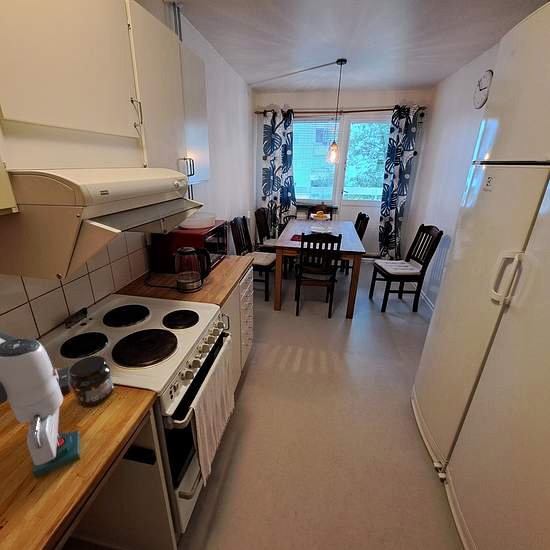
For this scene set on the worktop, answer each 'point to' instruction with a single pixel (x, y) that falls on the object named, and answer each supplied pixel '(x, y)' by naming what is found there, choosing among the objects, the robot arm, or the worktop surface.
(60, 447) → the timer button
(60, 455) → the teal square base
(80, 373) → the supplement container
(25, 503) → the worktop surface
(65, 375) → the stove panel
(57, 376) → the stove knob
